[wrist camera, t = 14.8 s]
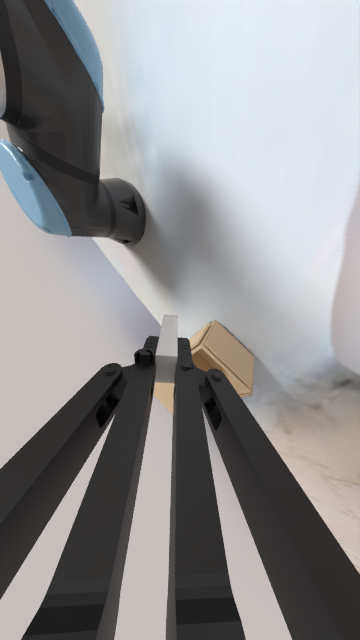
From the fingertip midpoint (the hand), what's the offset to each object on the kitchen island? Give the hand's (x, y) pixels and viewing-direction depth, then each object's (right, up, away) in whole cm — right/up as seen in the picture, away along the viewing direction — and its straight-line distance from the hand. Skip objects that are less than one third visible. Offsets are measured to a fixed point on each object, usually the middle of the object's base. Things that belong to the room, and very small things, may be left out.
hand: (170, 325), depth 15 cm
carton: (+14, -9, +31) cm, 35 cm away
